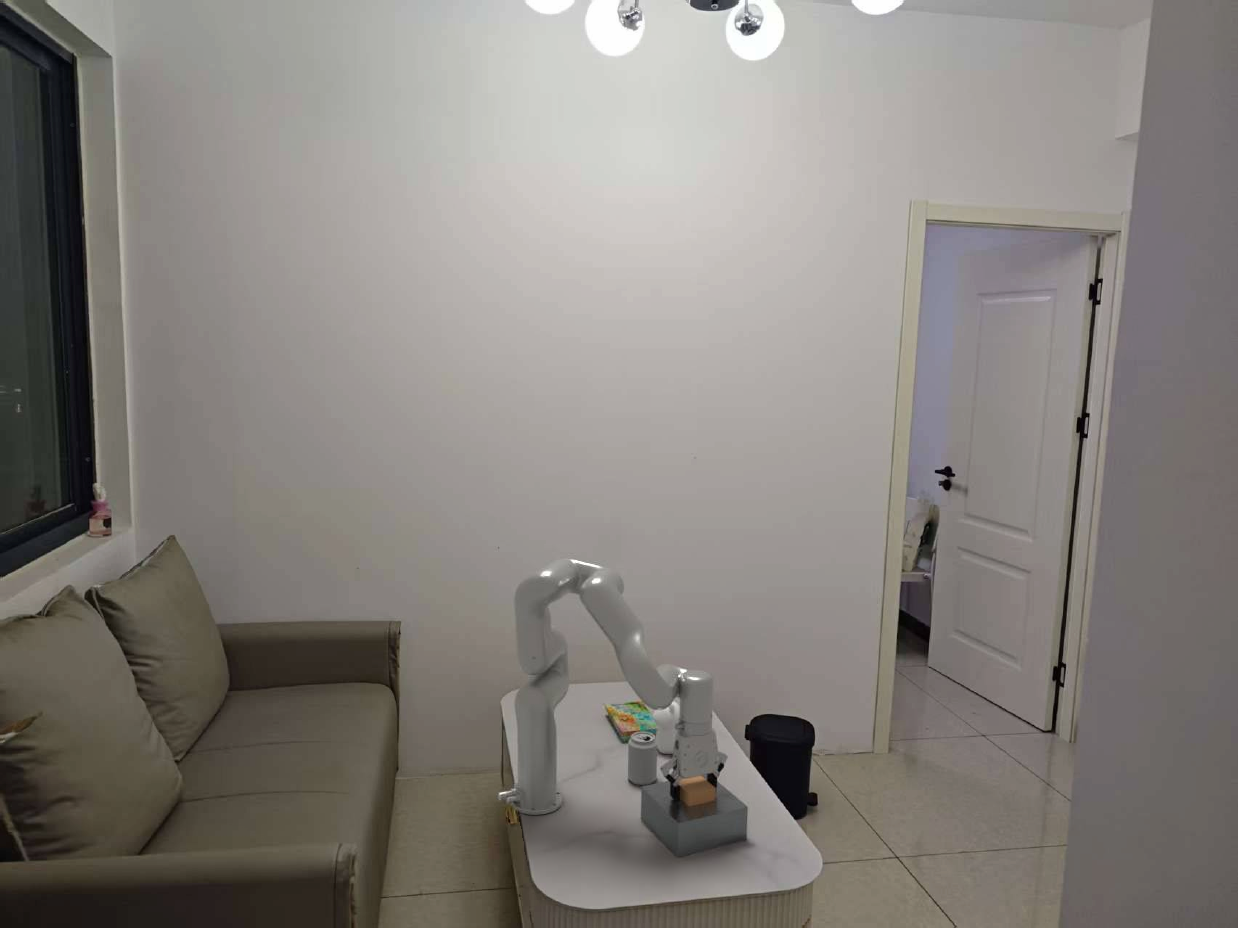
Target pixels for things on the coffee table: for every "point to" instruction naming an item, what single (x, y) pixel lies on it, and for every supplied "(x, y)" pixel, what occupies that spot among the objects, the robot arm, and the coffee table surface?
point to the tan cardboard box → (696, 791)
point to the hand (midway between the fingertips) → (693, 795)
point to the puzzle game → (631, 718)
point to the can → (642, 758)
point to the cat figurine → (666, 727)
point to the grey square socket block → (693, 819)
